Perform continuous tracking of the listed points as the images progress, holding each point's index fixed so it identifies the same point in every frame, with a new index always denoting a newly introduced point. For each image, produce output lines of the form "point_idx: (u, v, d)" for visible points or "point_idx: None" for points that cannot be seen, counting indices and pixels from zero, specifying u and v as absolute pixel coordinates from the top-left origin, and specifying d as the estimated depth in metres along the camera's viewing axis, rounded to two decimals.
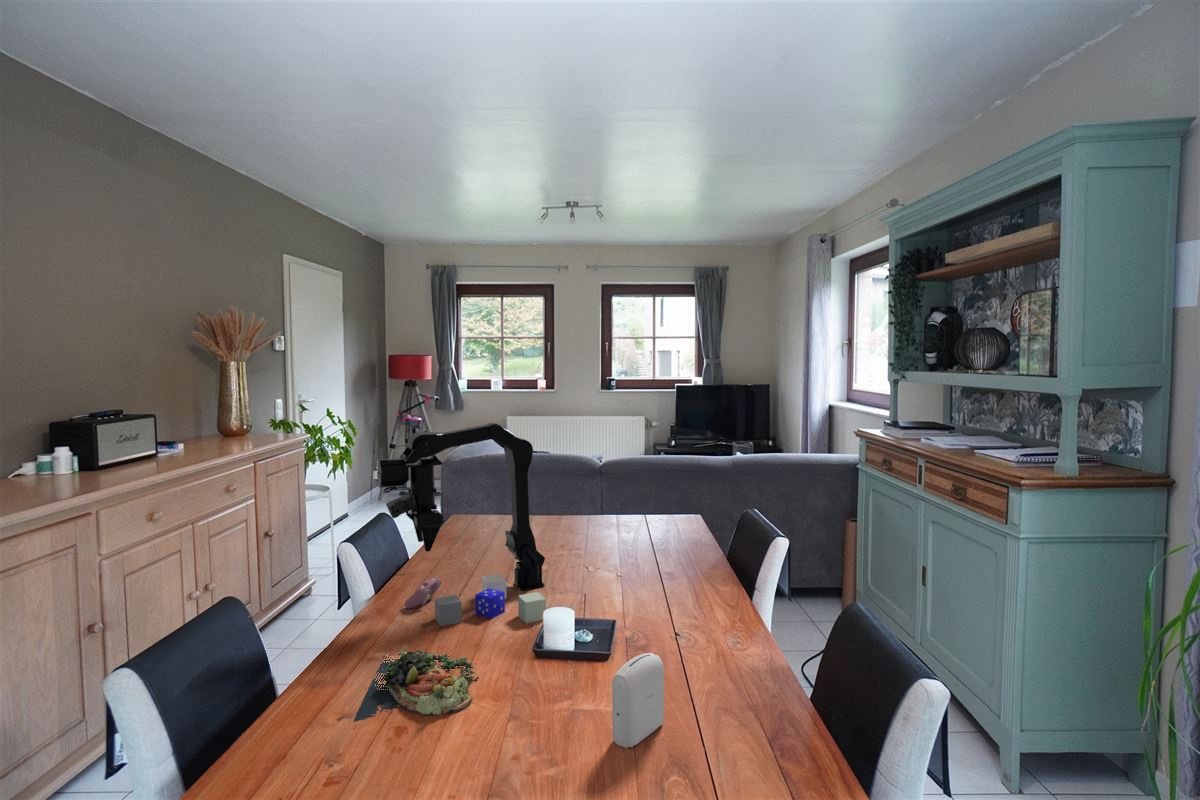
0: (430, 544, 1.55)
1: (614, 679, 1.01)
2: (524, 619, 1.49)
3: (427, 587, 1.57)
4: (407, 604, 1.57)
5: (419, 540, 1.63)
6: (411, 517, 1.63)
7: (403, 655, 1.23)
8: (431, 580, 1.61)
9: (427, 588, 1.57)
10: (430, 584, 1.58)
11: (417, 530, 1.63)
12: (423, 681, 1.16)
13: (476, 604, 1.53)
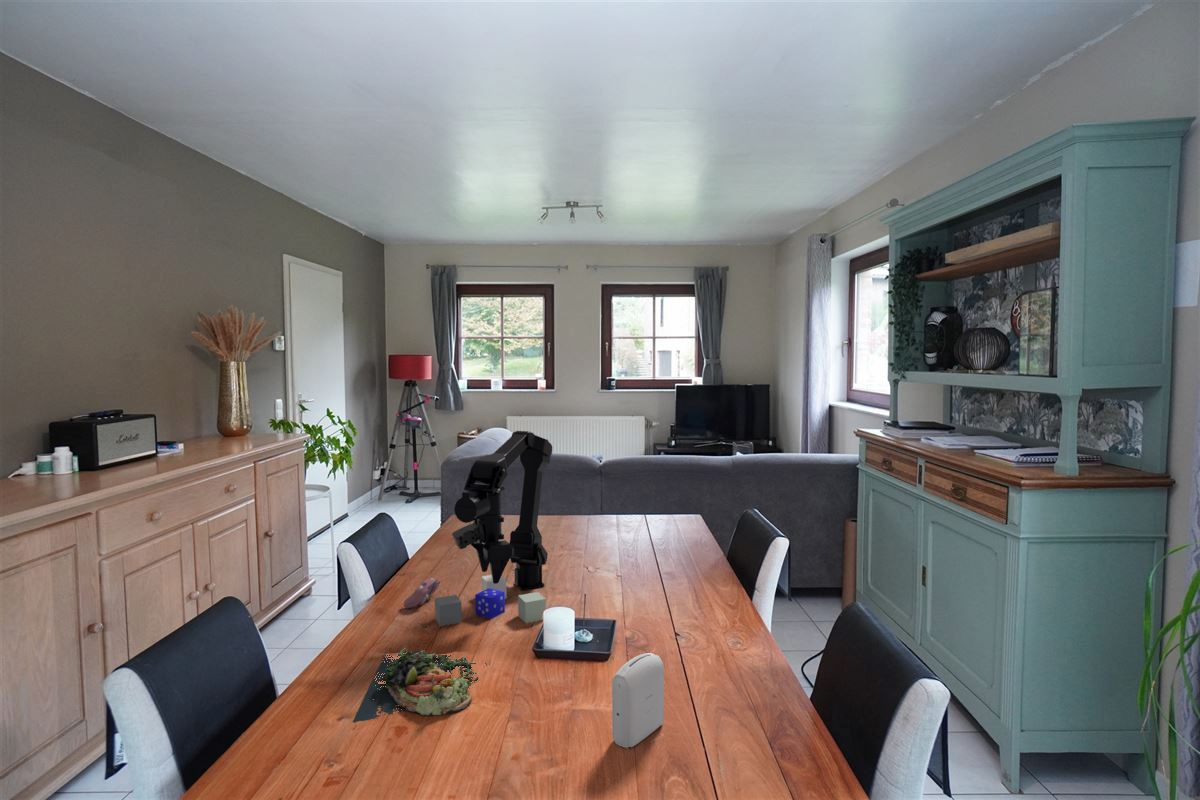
0: (498, 576, 1.49)
1: (614, 679, 1.01)
2: (524, 619, 1.49)
3: (426, 587, 1.58)
4: (406, 604, 1.57)
5: (483, 570, 1.57)
6: (475, 546, 1.57)
7: (403, 655, 1.23)
8: (430, 580, 1.61)
9: (426, 588, 1.57)
10: (428, 584, 1.59)
11: (481, 560, 1.57)
12: (423, 681, 1.16)
13: (476, 604, 1.53)
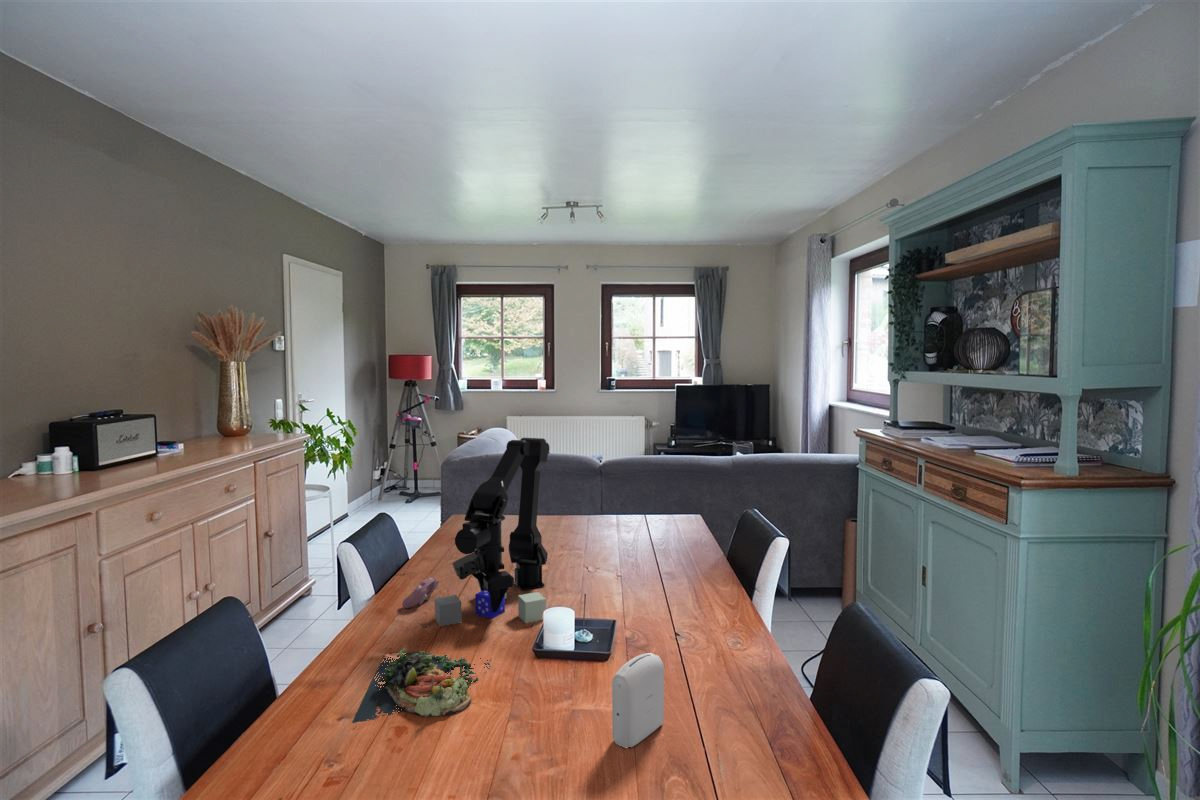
0: (497, 605, 1.50)
1: (614, 679, 1.01)
2: (524, 619, 1.49)
3: (424, 587, 1.58)
4: (404, 604, 1.57)
5: None
6: (477, 576, 1.56)
7: (402, 656, 1.23)
8: (428, 580, 1.61)
9: (424, 588, 1.57)
10: (427, 584, 1.59)
11: None
12: (422, 682, 1.16)
13: (476, 604, 1.53)
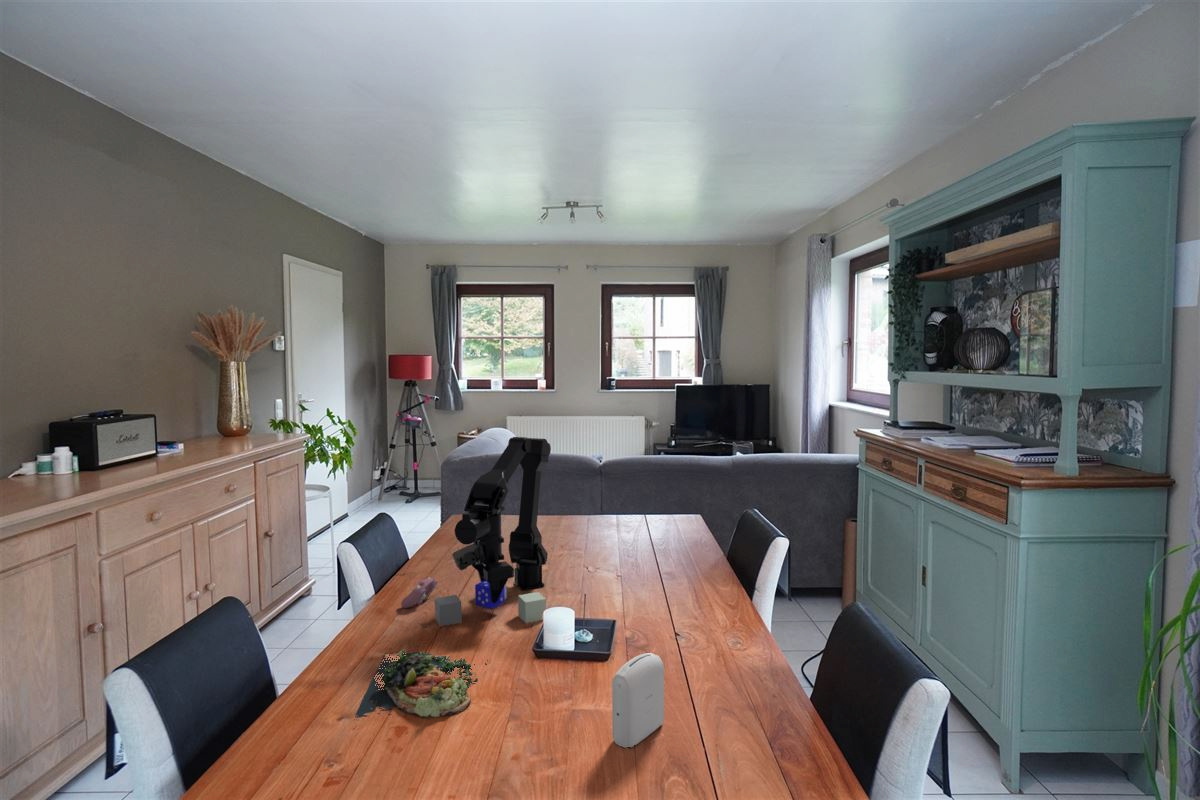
0: (497, 595, 1.50)
1: (614, 679, 1.01)
2: (524, 619, 1.49)
3: (423, 587, 1.58)
4: (403, 604, 1.57)
5: None
6: (476, 567, 1.56)
7: (402, 657, 1.22)
8: (427, 580, 1.61)
9: (423, 588, 1.58)
10: (426, 584, 1.59)
11: (482, 581, 1.56)
12: (421, 683, 1.15)
13: (476, 594, 1.53)
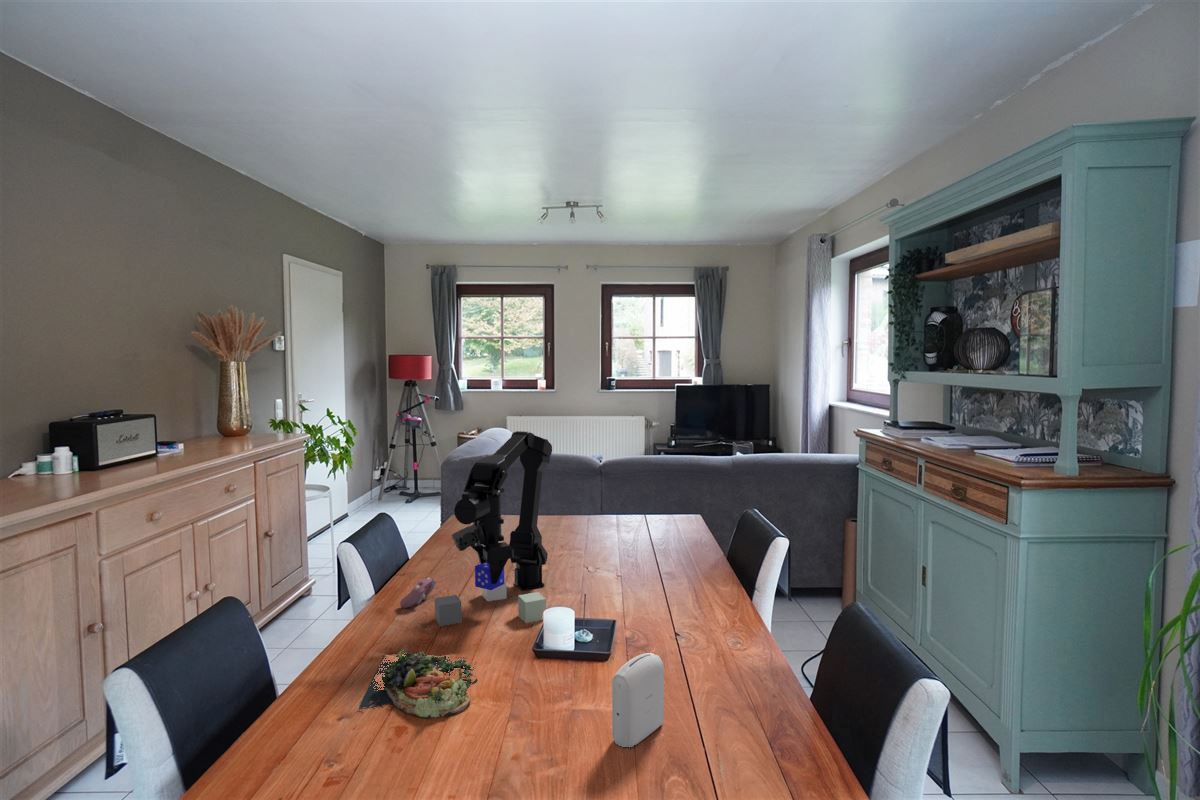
0: (497, 576, 1.50)
1: (614, 679, 1.01)
2: (524, 619, 1.49)
3: (422, 587, 1.58)
4: (402, 603, 1.57)
5: None
6: (476, 549, 1.56)
7: (401, 657, 1.22)
8: (426, 580, 1.61)
9: (422, 587, 1.58)
10: (425, 584, 1.59)
11: None
12: (421, 683, 1.15)
13: (476, 576, 1.52)
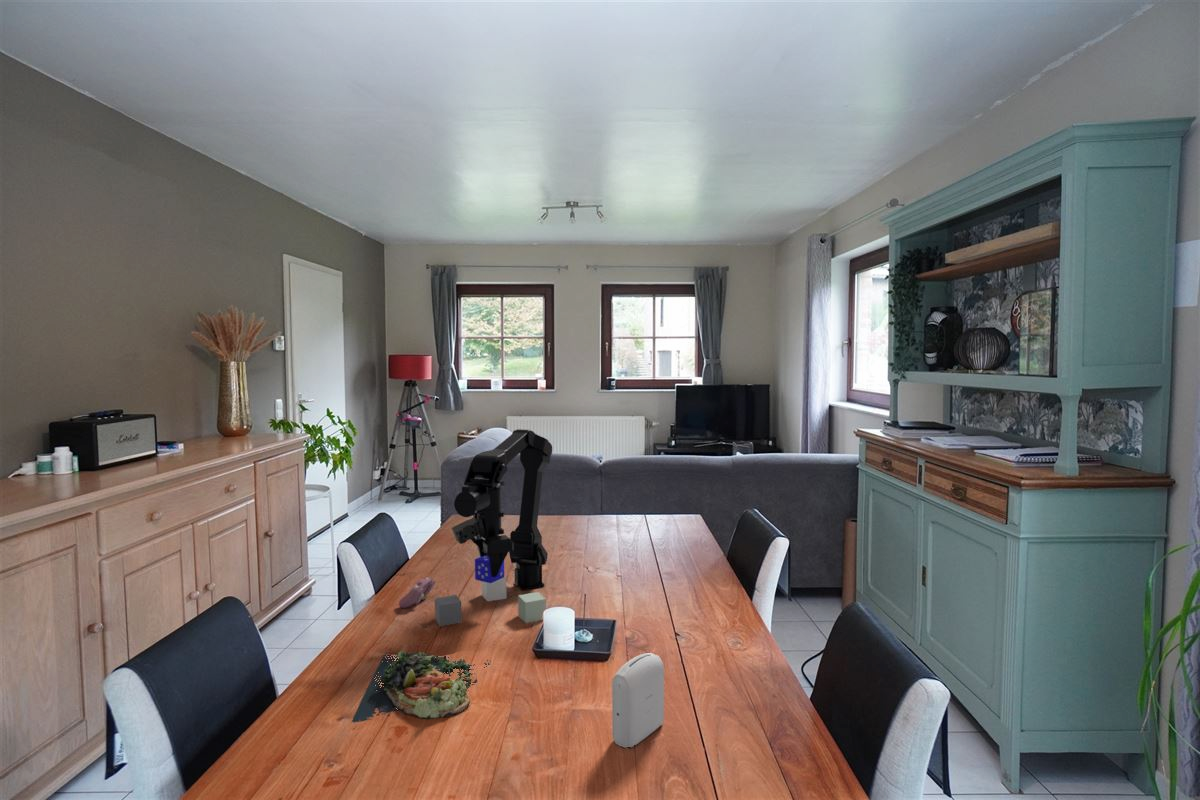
0: (497, 569, 1.50)
1: (614, 679, 1.01)
2: (524, 619, 1.49)
3: (421, 586, 1.58)
4: (401, 603, 1.57)
5: None
6: (476, 542, 1.56)
7: (401, 657, 1.22)
8: (425, 579, 1.61)
9: (421, 587, 1.58)
10: (424, 584, 1.59)
11: None
12: (421, 684, 1.15)
13: (476, 569, 1.52)
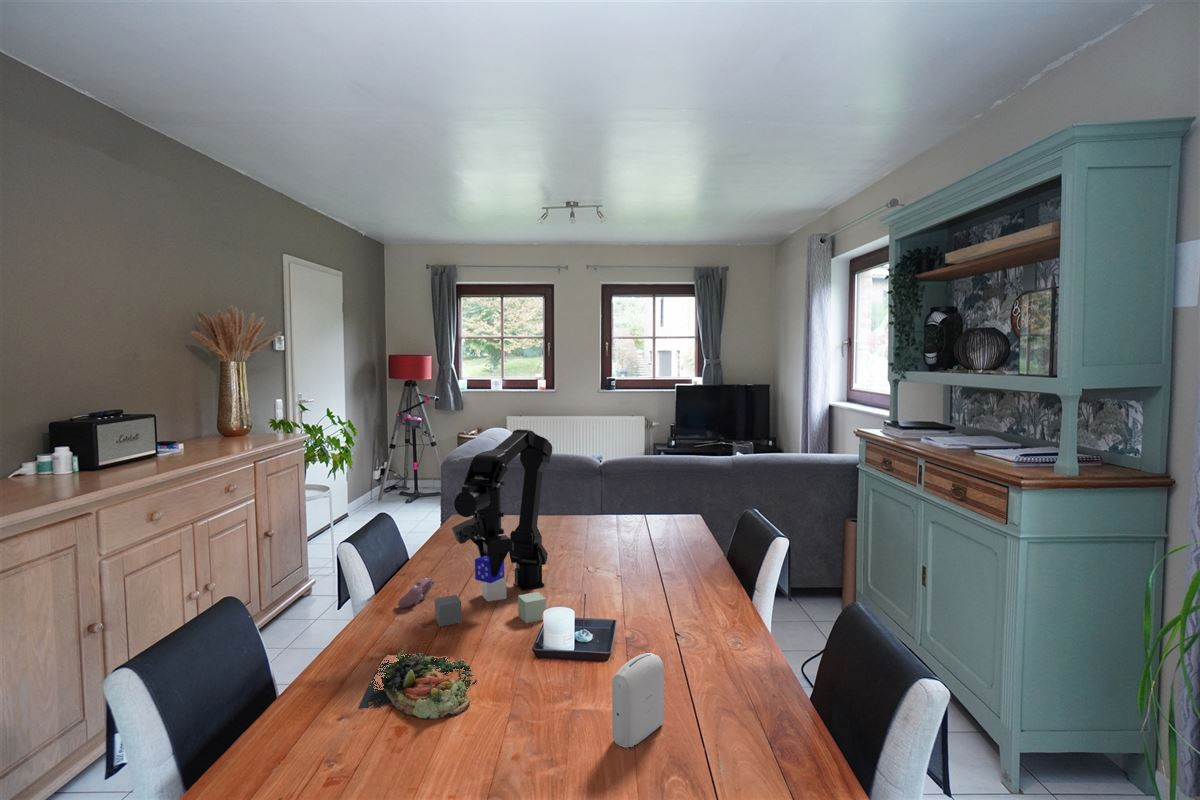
0: (497, 569, 1.50)
1: (614, 679, 1.01)
2: (524, 619, 1.49)
3: (420, 586, 1.58)
4: (400, 603, 1.57)
5: None
6: (476, 542, 1.56)
7: (401, 658, 1.22)
8: (424, 579, 1.61)
9: (420, 587, 1.58)
10: (423, 584, 1.59)
11: None
12: (420, 684, 1.15)
13: (476, 569, 1.52)
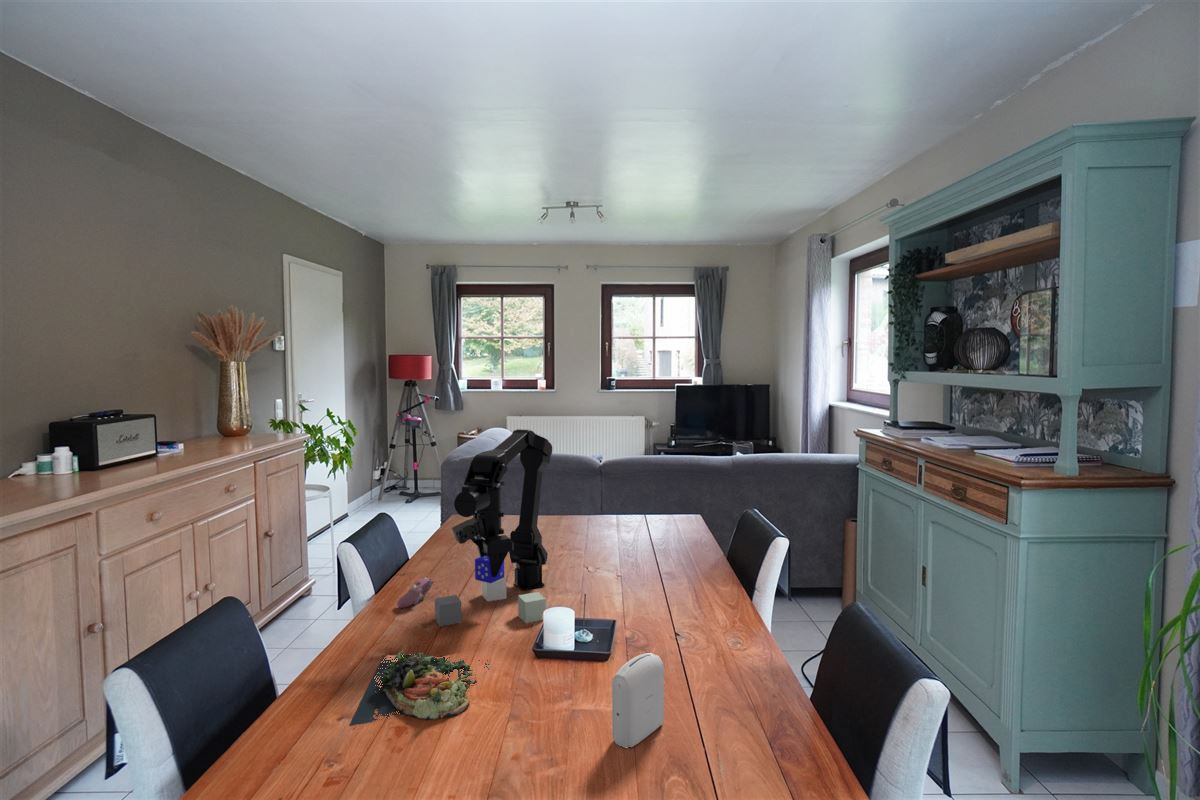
0: (497, 569, 1.50)
1: (614, 679, 1.01)
2: (524, 619, 1.49)
3: (420, 586, 1.58)
4: (399, 603, 1.57)
5: None
6: (476, 542, 1.56)
7: (400, 658, 1.22)
8: (424, 579, 1.61)
9: (420, 587, 1.58)
10: (422, 584, 1.59)
11: None
12: (420, 684, 1.15)
13: (476, 569, 1.52)
